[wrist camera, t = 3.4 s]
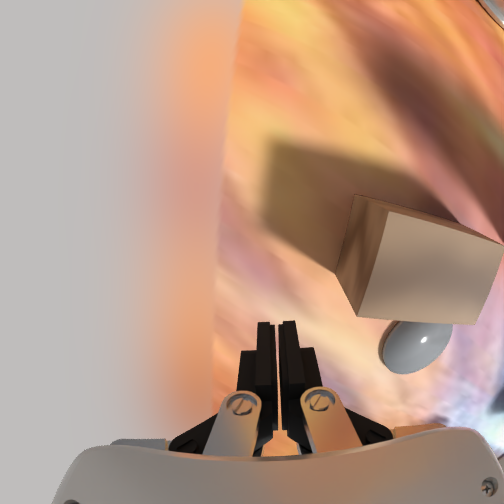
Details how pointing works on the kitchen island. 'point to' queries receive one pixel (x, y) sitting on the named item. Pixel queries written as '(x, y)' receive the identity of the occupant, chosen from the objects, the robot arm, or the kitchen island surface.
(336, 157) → the kitchen island surface
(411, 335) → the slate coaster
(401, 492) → the robot arm
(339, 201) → the kitchen island surface
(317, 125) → the kitchen island surface
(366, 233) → the brown block
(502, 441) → the kitchen island surface
